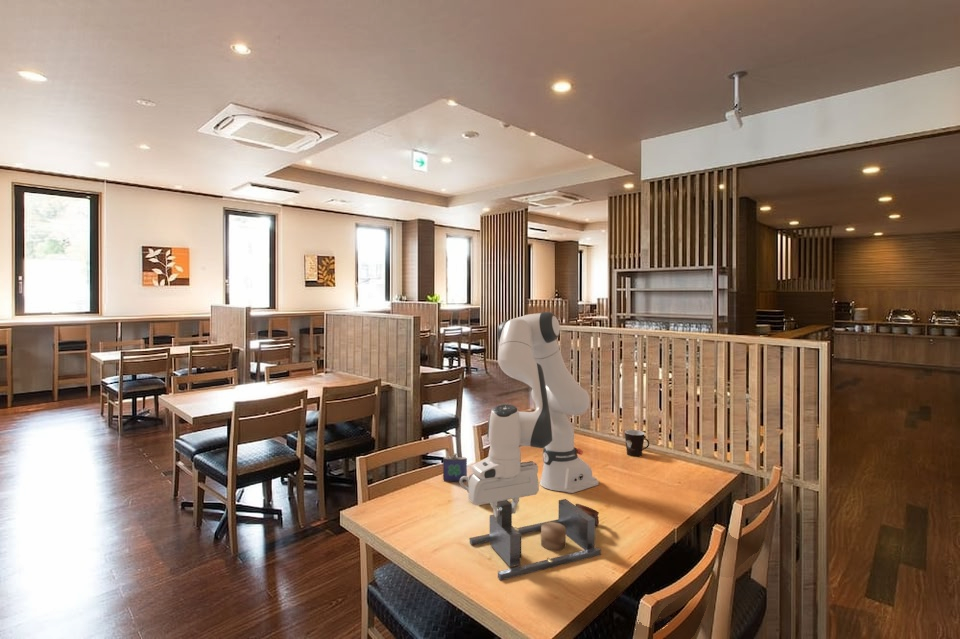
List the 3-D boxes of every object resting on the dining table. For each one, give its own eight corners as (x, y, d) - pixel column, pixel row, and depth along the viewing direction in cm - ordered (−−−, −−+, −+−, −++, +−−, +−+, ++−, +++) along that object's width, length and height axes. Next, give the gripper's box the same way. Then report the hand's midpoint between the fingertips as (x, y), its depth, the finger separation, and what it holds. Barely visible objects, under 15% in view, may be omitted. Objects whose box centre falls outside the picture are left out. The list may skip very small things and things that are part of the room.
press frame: (560, 523, 157) (560, 495, 157) (601, 555, 138) (601, 523, 137) (469, 542, 145) (469, 512, 144) (500, 581, 126) (500, 546, 125)
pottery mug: (560, 526, 156) (568, 500, 159) (585, 536, 158) (592, 510, 161) (579, 533, 145) (587, 505, 148) (606, 544, 147) (613, 516, 150)
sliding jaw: (500, 541, 144) (500, 492, 144) (522, 564, 132) (522, 511, 132) (489, 544, 143) (489, 494, 142) (510, 567, 131) (510, 513, 130)
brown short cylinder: (557, 536, 149) (557, 520, 148) (570, 547, 142) (570, 530, 142) (536, 541, 146) (536, 524, 145) (549, 553, 139) (549, 535, 139)
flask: (467, 479, 194) (467, 452, 193) (466, 482, 191) (466, 454, 190) (443, 479, 194) (443, 452, 194) (442, 482, 191) (442, 454, 191)
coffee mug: (621, 451, 228) (621, 430, 227) (639, 450, 229) (639, 429, 228) (631, 460, 216) (632, 437, 216) (650, 459, 217) (651, 436, 217)
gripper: (532, 456, 143) (531, 503, 144) (466, 466, 135) (466, 516, 136) (543, 463, 137) (542, 512, 138) (475, 474, 129) (475, 526, 130)
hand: (504, 514), depth 137 cm, fingers closed on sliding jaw, 3 cm apart
